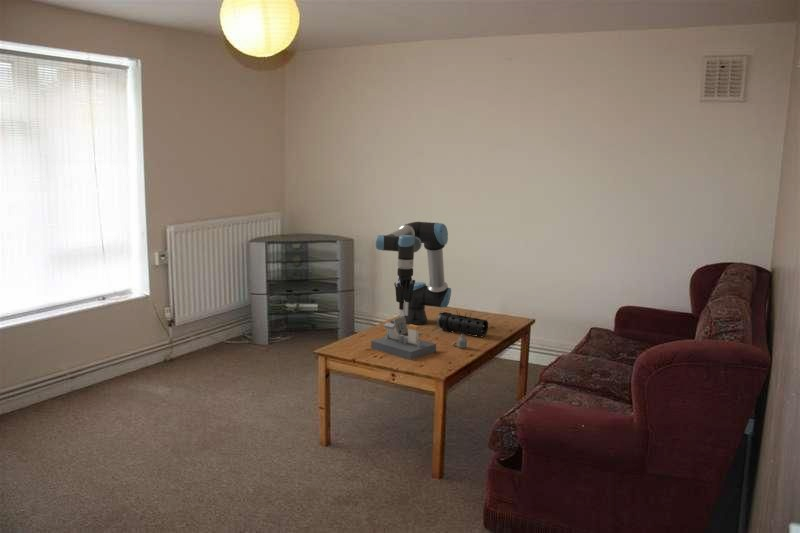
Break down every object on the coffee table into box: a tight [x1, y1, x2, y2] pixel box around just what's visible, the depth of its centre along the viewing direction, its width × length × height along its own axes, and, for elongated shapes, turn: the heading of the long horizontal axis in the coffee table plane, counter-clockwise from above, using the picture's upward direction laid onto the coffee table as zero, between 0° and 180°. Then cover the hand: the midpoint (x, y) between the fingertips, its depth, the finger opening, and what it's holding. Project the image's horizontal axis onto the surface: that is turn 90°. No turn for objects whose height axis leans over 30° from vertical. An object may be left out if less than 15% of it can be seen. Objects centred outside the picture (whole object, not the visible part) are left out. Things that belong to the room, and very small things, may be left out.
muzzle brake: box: [436, 311, 489, 338], centre depth 371 cm, size 10×28×10 cm, turn 58°
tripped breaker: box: [407, 324, 420, 345], centre depth 331 cm, size 2×6×10 cm, turn 50°
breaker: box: [383, 322, 399, 340], centre depth 337 cm, size 2×6×10 cm
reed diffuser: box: [451, 311, 472, 349], centre depth 342 cm, size 10×7×20 cm
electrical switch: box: [390, 316, 408, 335], centre depth 365 cm, size 9×5×9 cm, turn 141°
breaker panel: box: [370, 331, 437, 361], centre depth 336 cm, size 20×26×7 cm
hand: (403, 315), depth 323 cm, fingers open, 2 cm apart
